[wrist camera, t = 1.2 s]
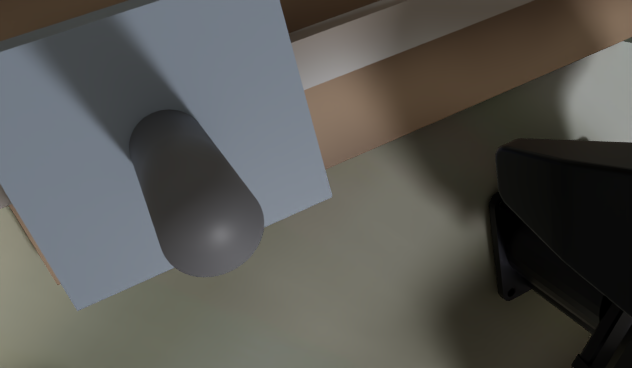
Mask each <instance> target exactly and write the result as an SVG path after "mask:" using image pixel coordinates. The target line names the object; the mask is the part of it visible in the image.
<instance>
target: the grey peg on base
mask: <svg viewBox="0 0 632 368" xmlns="http://www.w3.org/2000/svg"><path fill="white" fill-rule="evenodd" d="M0 184H1V186H2V188H3V189H4V191H5V193H6V194H7V196H8V198H9V199H10V201H11V202H12V204H13V206H14V207H15V209H16V211H17V212H18V214H19V216H20V217H21V219H22V221H23V222H24V224H25V226H26V227H27V229H28V230H29V232H30V234H31V235H32V237H33V239H34V240H35V242H36V244H37V245H38V247H39V249H40V250H41V252H42V253H43V255H44V257H45V258H46V260H47V262H48V263H49V265H50V267H51V268H52V270H53V272H54V273H55V275H56V276H57V278H58V280H59V281H60V283H61V285H62V286H63V288H64V290H65V291H66V293H67V295H68V296H69V298H70V300H71V301H72V303H73V304H74V306H75V308H76V309H77V311H78V310H81V309H83V308H85V307H87V306H89V305H92V304H94V303H96V302H98V301H101V300H103V299H105V298H107V297H110V296H112V295H114V294H116V293H119V292H121V291H123V290H125V289H128V288H130V287H132V286H134V285H136V284H139V283H141V282H143V281H145V280H148V279H150V278H152V277H154V276H157V275H159V274H161V273H163V272H166V271H168V270H170V269H172V268H174V267H175V268H176V269H178V270H179V271H181V272H183V273H185V274H188V275H191V276H196V277H213V276H218V275H222V274H225V273H227V272H230V271H232V270H234V269H236V268H237V267H239V266H240V265H242V264H243V263H244V262H245V261H247V260H248V259H249V257H250V256H251V255H252V254H253V253H254V251H255V250H256V248H257V247H258V245H259V243H260V241H261V238H262V235H263V230H264V227H266V226H268V225H271V224H273V223H275V222H277V221H280V220H282V219H284V218H286V217H288V216H291V215H293V214H295V213H297V212H300V211H302V210H304V209H306V208H309V207H311V206H313V205H315V204H318V203H320V202H322V201H324V200H327V199H329V198H331V197H332V193H331V189H330V186H329V182H328V178H327V174H326V171H325V167H324V163H323V160H322V156H321V152H320V148H319V145H318V141H317V137H316V134H315V130H314V126H313V122H312V119H311V115H310V111H309V108H308V104H307V100H306V96H305V93H304V89H303V85H302V82H301V78H300V74H299V70H298V67H297V63H296V59H295V56H294V52H293V48H292V44H291V41H290V37H289V33H288V30H287V26H286V22H285V18H284V15H283V11H282V7H281V4H280V0H128V1H125V2H122V3H118V4H115V5H112V6H109V7H106V8H103V9H100V10H97V11H94V12H90V13H87V14H84V15H81V16H78V17H75V18H72V19H69V20H65V21H62V22H59V23H56V24H53V25H50V26H47V27H44V28H40V29H37V30H34V31H31V32H28V33H25V34H22V35H19V36H15V37H12V38H9V39H6V40H3V41H0Z"/></svg>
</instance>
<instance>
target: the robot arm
mask: <svg viewBox="0 0 632 368" xmlns="http://www.w3.org/2000/svg"><path fill="white" fill-rule="evenodd" d="M496 170H497V182H498V190H499V192H497V193H496V194H494V195H493V196H492V198H491V199H490V202H489V209H490V219H491V228H492V237H493V247H494V256H495V265H496V275H497V284H498V293H499V295H500V296H501V297H502V298H504V299H505V300H506V301H510V300H512V299H514V298H516V297H518V296H520V295H522V294H524V293H525V292H527V291H529V290H531V289H532V290H534V291H535V292H536V293H538V294H539V295H540V296H542V297H543V298H544V299H546V300H547V301H548V302H550V303H551V304H552V305H554V306H555V307H556V308H558V309H559V310H561V311H562V312H563V313H565V314H566V315H567V316H569V317H570V318H571V319H573V320H574V321H575V322H577V323H578V324H579V325H581V326H582V327H583V328H585V329H586V330H587V331H589V332H590V333H591V334H592V336H591V337H590V339H589V341H588V343H587V344H586V346H585V348H584V349H583V351H582V353H581V354H578V355H577V356H576V358H575V360H574V362H573V363H572V366H573V367H574V368H632V143H629V142H602V141H576V140H549V139H523V138H521V139H515V140H513V141H511V142H509V143H506V144H504V145H502V146H500V147H499V148H498V149H497V151H496ZM501 201H502V202H501ZM500 202H501V204H500ZM499 204H500V205H499Z"/></svg>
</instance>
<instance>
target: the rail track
mask: <svg viewBox="0 0 632 368" xmlns="http://www.w3.org/2000/svg"><path fill="white" fill-rule="evenodd" d="M125 1H128V0H0V41H3V40H6V39H9V38H12V37H15V36H19V35H22V34H25V33H28V32H31V31H34V30H37V29H40V28H44V27H47V26H50V25H53V24H56V23H59V22H62V21H65V20H69V19H72V18H75V17H78V16H81V15H84V14H87V13H90V12H94V11H97V10H100V9H103V8H106V7H109V6H112V5H115V4H118V3H122V2H125ZM280 4H281V7H282V11H283V15H284V18H285V22H286V26H287V30H288V33H289V37H290V41H291V44H292V48H293V52H294V56H295V59H296V63H297V67H298V70H299V74H300V78H301V82H302V85H303V89H304V93H305V96H306V100H307V104H308V108H309V111H310V115H311V119H312V122H313V126H314V130H315V134H316V137H317V141H318V145H319V148H320V152H321V156H322V160H323V163H324V167H325V169H328V168H330V167H332V166H335V165H337V164H339V163H342V162H344V161H346V160H349V159H351V158H353V157H356V156H358V155H360V154H362V153H365V152H367V151H369V150H372V149H374V148H376V147H379V146H381V145H383V144H386V143H388V142H390V141H393V140H395V139H397V138H399V137H402V136H404V135H406V134H409V133H411V132H413V131H416V130H418V129H420V128H423V127H425V126H427V125H429V124H432V123H434V122H436V121H439V120H441V119H443V118H446V117H448V116H450V115H453V114H455V113H457V112H460V111H462V110H464V109H466V108H469V107H471V106H473V105H476V104H478V103H480V102H483V101H485V100H487V99H490V98H492V97H494V96H497V95H499V94H501V93H503V92H506V91H508V90H510V89H513V88H515V87H517V86H520V85H522V84H524V83H527V82H529V81H531V80H534V79H536V78H538V77H540V76H543V75H545V74H547V73H550V72H552V71H554V70H557V69H559V68H561V67H564V66H566V65H568V64H571V63H573V62H575V61H577V60H580V59H582V58H584V57H587V56H589V55H591V54H594V53H596V52H598V51H601V50H603V49H605V48H608V47H610V46H612V45H614V44H617V43H619V42H621V41H624V40H626V39H628V38H631V37H632V0H280ZM8 205H9V206H10V208H11V210H12V211H13V213H14V215H15V216H16V218H17V219H18V221H19V223H20V224H21V226H22V228H23V229H24V231H25V232H26V234H27V236H28V237H29V239H30V241H31V242H32V244H33V246H34V247H35V249H36V250H37V252H38V254H39V255H40V257H41V259H42V260H43V262H44V263H45V265H46V267H47V268H48V270H49V272H50V273H51V275H52V277H53V278H54V280H55V281H56V283H57V285H60V284H61V283H60V281H59V280H58V278H57V276H56V275H55V273H54V272H53V270H52V268H51V267H50V265H49V263H48V262H47V260H46V258H45V257H44V255H43V253H42V252H41V250H40V249H39V247H38V245H37V244H36V242H35V240H34V239H33V237H32V235H31V234H30V232H29V230H28V229H27V227H26V226H25V224H24V222H23V221H22V219H21V217H20V216H19V214H18V212H17V211H16V209H15V207H14V206H13V204H12V202H11V201H10V199H9V198H8V196H7V194H6V193H5V191H4V189H3V188H2V186H1V184H0V209H1V208H3V207H6V206H8Z"/></svg>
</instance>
